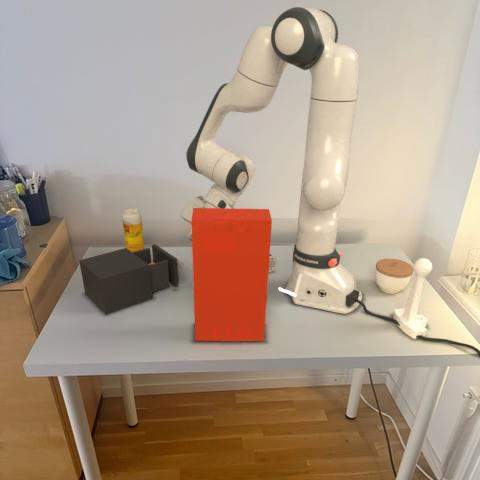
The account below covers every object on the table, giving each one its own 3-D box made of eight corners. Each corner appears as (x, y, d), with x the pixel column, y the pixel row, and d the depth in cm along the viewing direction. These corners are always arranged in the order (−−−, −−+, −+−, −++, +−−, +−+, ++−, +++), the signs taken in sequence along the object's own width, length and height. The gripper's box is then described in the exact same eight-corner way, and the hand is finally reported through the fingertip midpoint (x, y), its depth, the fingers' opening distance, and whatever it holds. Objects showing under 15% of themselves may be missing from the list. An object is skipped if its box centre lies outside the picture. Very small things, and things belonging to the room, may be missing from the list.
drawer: (168, 266, 148) (166, 240, 143) (190, 281, 140) (189, 254, 135) (119, 281, 139) (115, 254, 134) (139, 298, 131) (136, 270, 126)
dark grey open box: (129, 280, 142) (126, 247, 136) (152, 298, 133) (149, 264, 127) (85, 293, 134) (79, 260, 128) (106, 314, 125) (100, 279, 119)
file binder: (196, 323, 123) (193, 207, 105) (261, 324, 123) (268, 208, 106) (195, 341, 116) (191, 220, 98) (263, 342, 117) (271, 221, 99)
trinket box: (413, 288, 142) (420, 260, 137) (398, 301, 135) (405, 273, 130) (381, 277, 148) (387, 250, 143) (365, 289, 141) (370, 261, 136)
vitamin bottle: (123, 256, 156) (117, 213, 147) (133, 249, 160) (128, 207, 152) (138, 259, 154) (134, 216, 146) (148, 252, 159) (144, 210, 150)
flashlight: (241, 254, 159) (241, 240, 156) (255, 252, 161) (255, 237, 158) (261, 273, 148) (262, 258, 145) (276, 270, 150) (277, 255, 147)
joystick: (389, 316, 128) (405, 250, 117) (413, 313, 130) (431, 248, 119) (410, 339, 119) (429, 270, 108) (435, 336, 121) (457, 267, 110)
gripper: (192, 188, 146) (166, 224, 146) (232, 207, 133) (204, 247, 133) (203, 200, 150) (179, 234, 151) (243, 219, 137) (216, 257, 138)
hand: (191, 240), depth 141 cm, fingers closed
